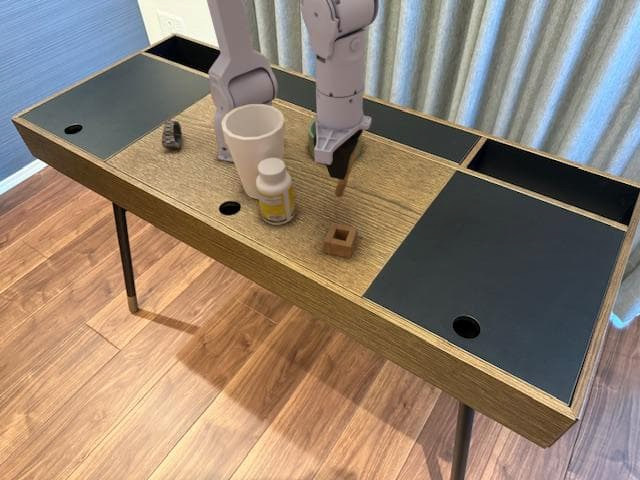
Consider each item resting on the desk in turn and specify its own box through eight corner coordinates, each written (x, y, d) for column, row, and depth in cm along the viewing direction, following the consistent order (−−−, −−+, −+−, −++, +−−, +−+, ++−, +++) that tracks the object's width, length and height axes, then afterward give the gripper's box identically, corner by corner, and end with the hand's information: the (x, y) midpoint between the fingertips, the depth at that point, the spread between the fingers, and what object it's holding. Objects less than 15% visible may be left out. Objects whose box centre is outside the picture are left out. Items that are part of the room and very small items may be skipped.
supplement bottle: (281, 197, 80) (275, 149, 73) (302, 214, 77) (298, 166, 70) (254, 213, 78) (245, 165, 71) (275, 231, 75) (268, 183, 68)
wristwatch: (169, 150, 92) (159, 145, 87) (173, 123, 92) (164, 117, 87) (185, 152, 92) (176, 147, 87) (189, 126, 92) (180, 119, 87)
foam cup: (282, 209, 78) (274, 143, 69) (227, 202, 80) (212, 136, 70) (296, 171, 84) (290, 106, 75) (245, 166, 86) (233, 101, 76)
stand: (324, 252, 72) (323, 241, 70) (332, 233, 74) (331, 222, 72) (350, 258, 71) (350, 247, 69) (357, 239, 73) (357, 227, 72)
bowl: (302, 160, 87) (301, 139, 83) (318, 130, 93) (317, 110, 89) (353, 169, 85) (354, 148, 81) (366, 138, 91) (367, 117, 87)
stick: (332, 197, 71) (350, 142, 63) (335, 192, 72) (352, 137, 64) (340, 200, 71) (358, 145, 63) (343, 195, 72) (361, 140, 63)
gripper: (356, 123, 52) (353, 213, 62) (385, 60, 62) (379, 147, 72) (295, 114, 54) (301, 203, 64) (332, 53, 63) (333, 139, 73)
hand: (339, 173), depth 68 cm, fingers closed on stick, 1 cm apart
